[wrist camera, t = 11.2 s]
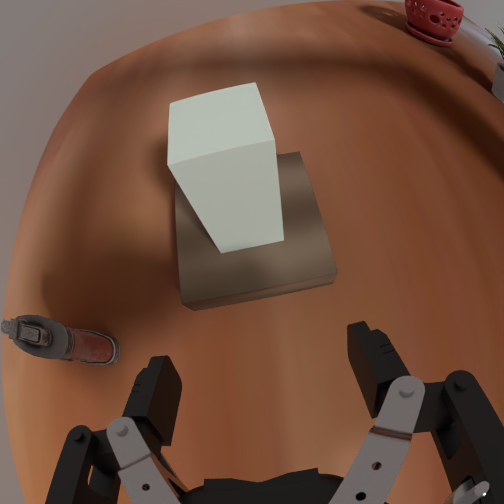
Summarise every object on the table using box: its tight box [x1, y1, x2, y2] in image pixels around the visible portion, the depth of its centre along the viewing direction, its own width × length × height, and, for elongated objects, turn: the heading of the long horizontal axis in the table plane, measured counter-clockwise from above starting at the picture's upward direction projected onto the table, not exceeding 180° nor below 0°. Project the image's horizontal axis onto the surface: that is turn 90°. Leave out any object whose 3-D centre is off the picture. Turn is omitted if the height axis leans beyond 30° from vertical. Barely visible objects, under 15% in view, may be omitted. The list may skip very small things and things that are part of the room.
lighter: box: [1, 315, 120, 365], centre depth 19 cm, size 8×3×10 cm, turn 89°
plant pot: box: [405, 0, 464, 46], centre depth 34 cm, size 13×13×12 cm
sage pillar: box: [167, 82, 284, 253], centre depth 18 cm, size 5×5×11 cm
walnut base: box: [175, 151, 338, 311], centre depth 25 cm, size 12×12×3 cm
